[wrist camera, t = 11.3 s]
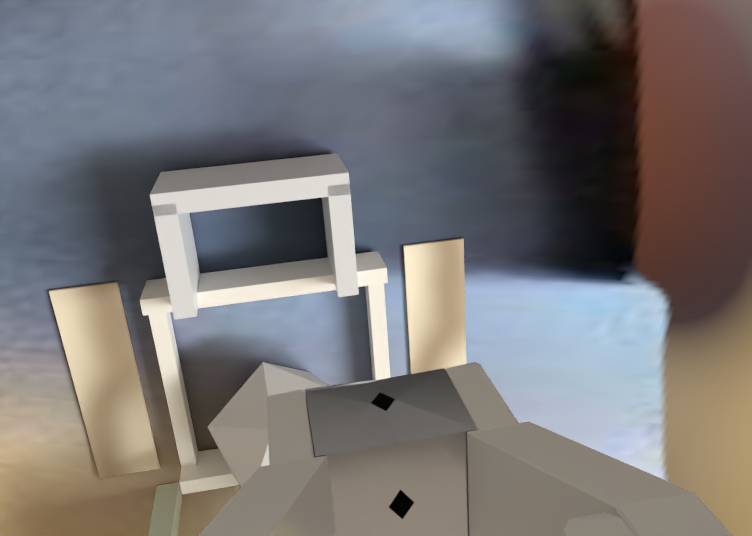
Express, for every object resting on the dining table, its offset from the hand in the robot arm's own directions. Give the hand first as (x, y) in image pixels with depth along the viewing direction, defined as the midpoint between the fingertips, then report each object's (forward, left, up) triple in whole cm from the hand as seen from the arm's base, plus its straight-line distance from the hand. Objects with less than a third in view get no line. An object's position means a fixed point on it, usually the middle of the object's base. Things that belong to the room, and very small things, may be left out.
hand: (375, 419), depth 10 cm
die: (-2, -20, -33) cm, 39 cm away
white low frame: (-2, -14, -33) cm, 36 cm away
